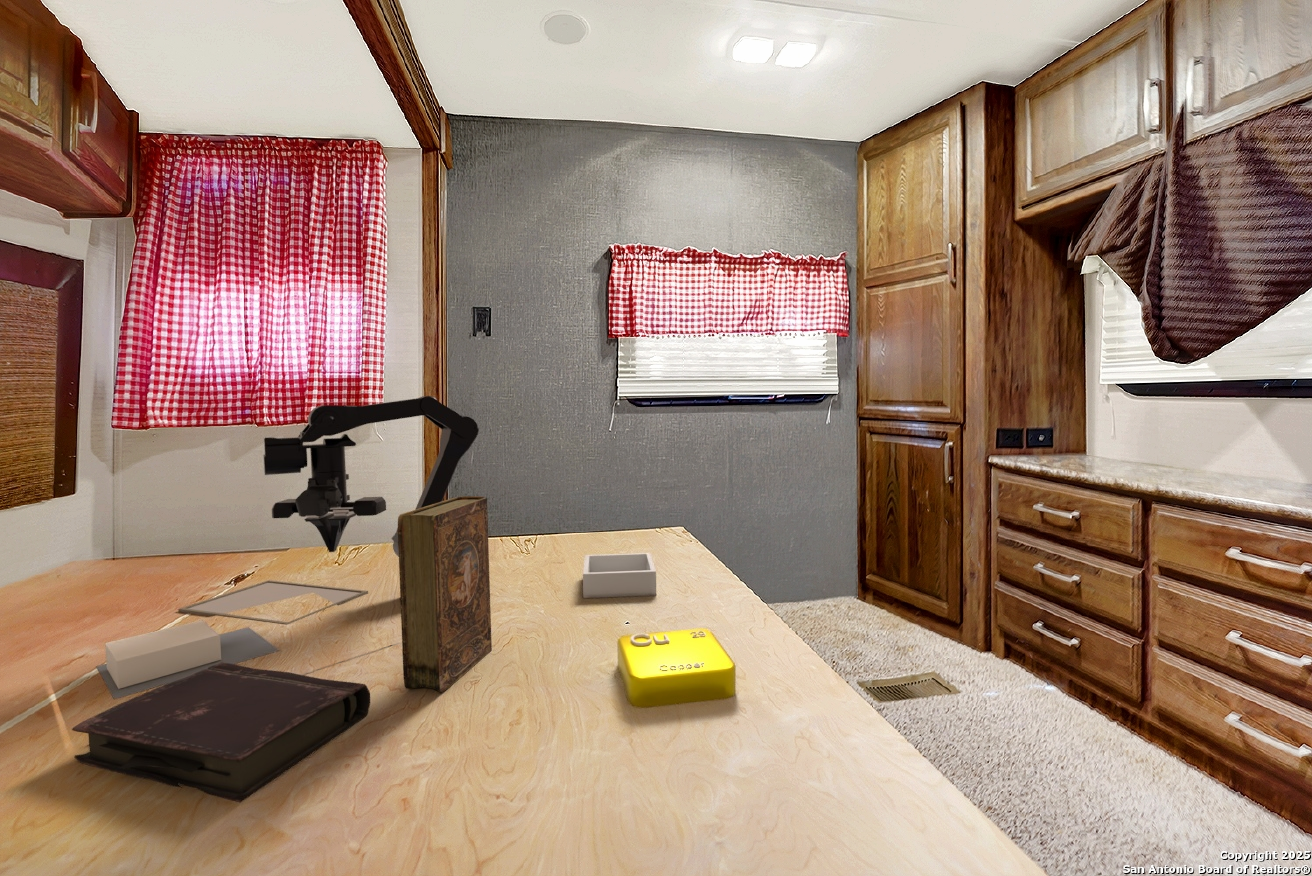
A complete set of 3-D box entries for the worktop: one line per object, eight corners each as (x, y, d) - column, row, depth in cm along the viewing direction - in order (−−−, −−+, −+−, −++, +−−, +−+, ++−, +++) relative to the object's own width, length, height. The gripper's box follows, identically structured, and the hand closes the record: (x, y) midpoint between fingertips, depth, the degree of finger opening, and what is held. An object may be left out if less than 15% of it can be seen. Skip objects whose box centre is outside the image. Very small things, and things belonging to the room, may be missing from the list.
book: (465, 644, 98) (459, 495, 96) (495, 647, 97) (490, 496, 95) (404, 693, 82) (396, 515, 80) (439, 696, 81) (432, 516, 79)
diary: (228, 691, 84) (226, 657, 84) (371, 716, 77) (370, 678, 76) (65, 770, 66) (62, 727, 66) (232, 812, 59) (229, 763, 59)
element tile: (630, 712, 77) (629, 676, 76) (616, 662, 91) (615, 632, 91) (740, 699, 79) (739, 665, 79) (709, 653, 94) (709, 623, 94)
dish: (650, 574, 136) (650, 552, 136) (656, 595, 121) (656, 571, 121) (585, 576, 135) (585, 555, 135) (583, 598, 120) (582, 574, 120)
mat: (248, 629, 106) (248, 627, 106) (280, 652, 96) (279, 650, 96) (96, 668, 91) (96, 666, 91) (114, 702, 80) (114, 699, 80)
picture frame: (178, 614, 115) (287, 629, 107) (178, 609, 115) (287, 623, 107) (269, 584, 134) (368, 595, 125) (268, 580, 134) (368, 590, 125)
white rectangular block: (202, 620, 98) (105, 643, 89) (219, 634, 92) (116, 661, 83) (204, 644, 98) (107, 669, 89) (221, 660, 92) (118, 690, 83)
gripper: (251, 477, 103) (256, 565, 104) (362, 475, 105) (366, 561, 106) (286, 470, 114) (290, 549, 115) (385, 468, 116) (388, 546, 117)
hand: (332, 551), depth 113 cm, fingers closed
